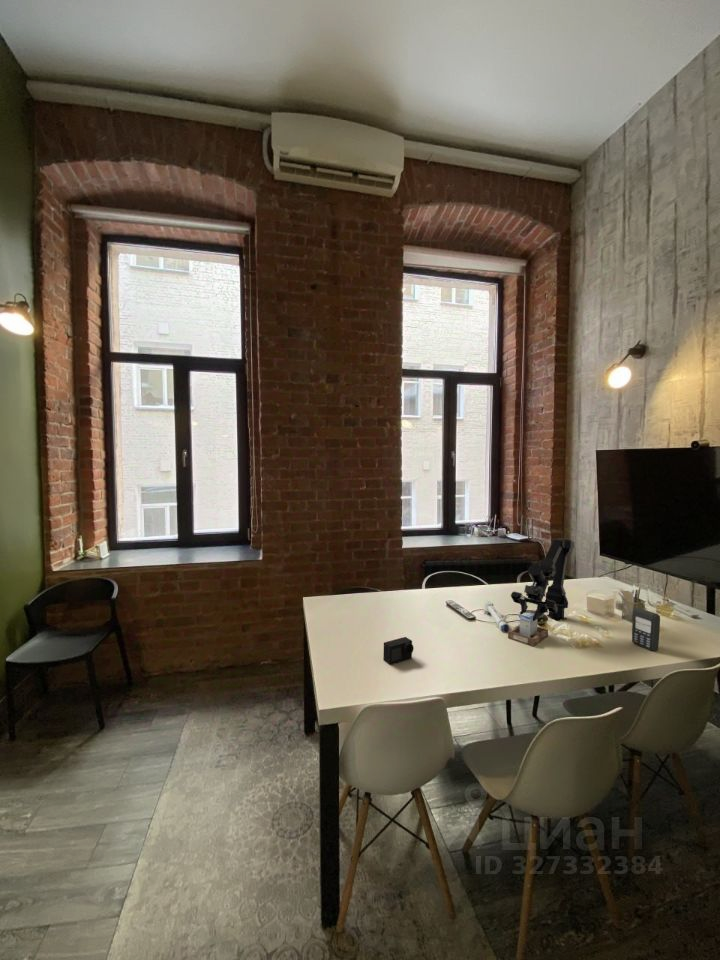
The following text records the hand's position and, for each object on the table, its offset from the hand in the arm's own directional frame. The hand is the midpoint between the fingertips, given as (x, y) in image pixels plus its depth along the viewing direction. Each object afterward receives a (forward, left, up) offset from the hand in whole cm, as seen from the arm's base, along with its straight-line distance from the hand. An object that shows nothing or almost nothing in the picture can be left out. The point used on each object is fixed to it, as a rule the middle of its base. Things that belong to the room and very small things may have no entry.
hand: (527, 618), depth 173 cm
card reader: (-41, +22, -9) cm, 47 cm away
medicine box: (-1, -1, -7) cm, 7 cm away
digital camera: (+61, +1, -9) cm, 62 cm away
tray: (-1, 0, -8) cm, 8 cm away
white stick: (+1, -20, -9) cm, 22 cm away
